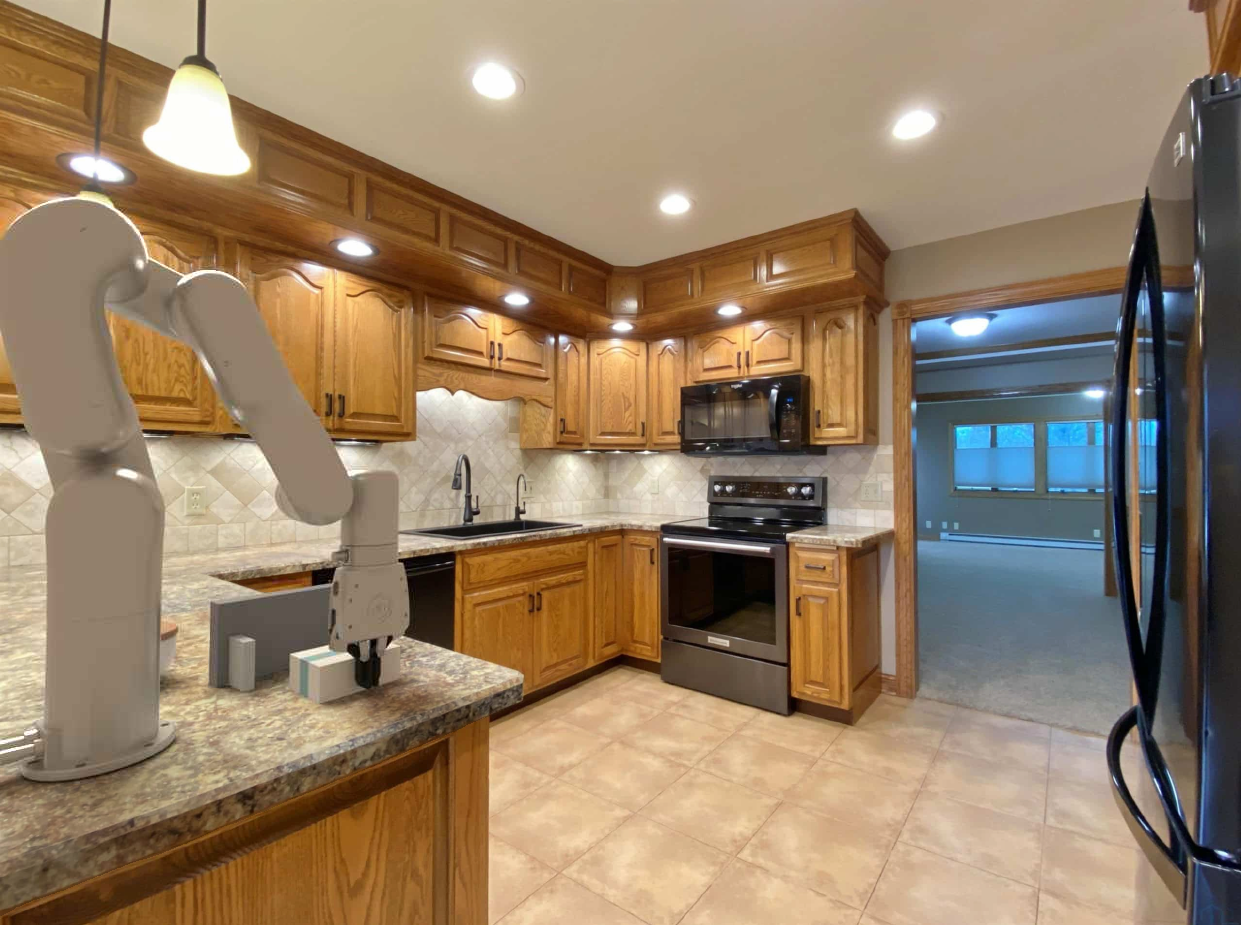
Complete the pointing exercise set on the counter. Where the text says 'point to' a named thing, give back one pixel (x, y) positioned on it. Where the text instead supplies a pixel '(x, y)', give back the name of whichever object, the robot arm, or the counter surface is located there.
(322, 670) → the carton
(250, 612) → the display stand
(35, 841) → the counter surface
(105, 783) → the counter surface
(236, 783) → the counter surface
